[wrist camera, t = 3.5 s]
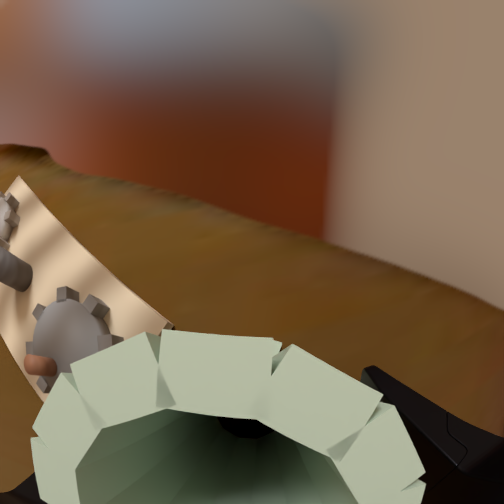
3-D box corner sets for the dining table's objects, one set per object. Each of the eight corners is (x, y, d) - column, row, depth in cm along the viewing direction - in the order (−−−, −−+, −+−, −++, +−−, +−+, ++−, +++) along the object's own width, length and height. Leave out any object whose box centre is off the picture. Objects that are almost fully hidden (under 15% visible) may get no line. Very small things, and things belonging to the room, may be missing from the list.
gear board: (174, 325, 16) (143, 309, 12) (92, 444, 13) (50, 457, 8) (24, 181, 22) (1, 157, 18) (-25, 257, 19) (-52, 240, 14)
